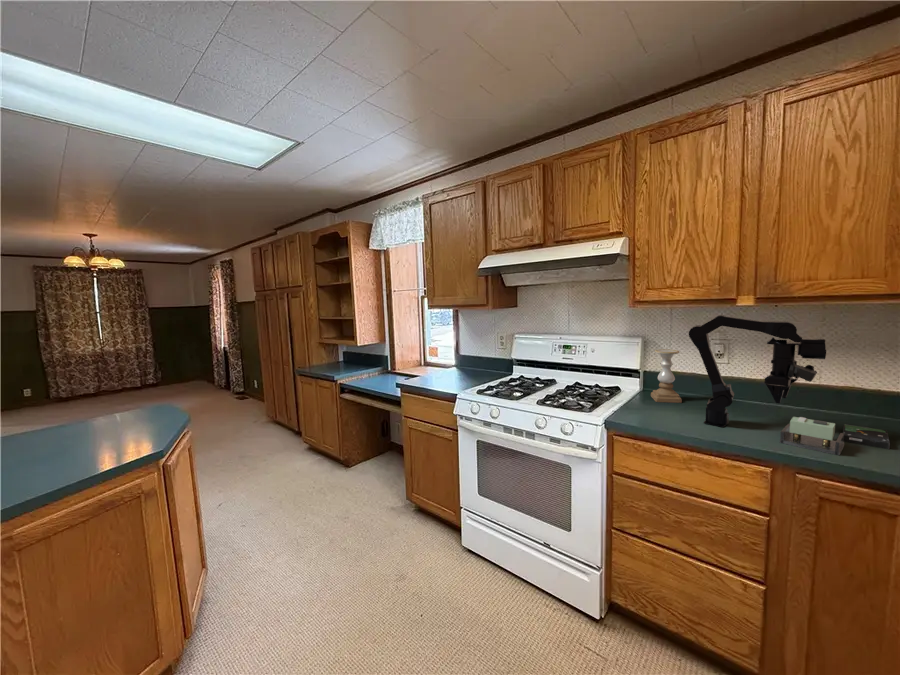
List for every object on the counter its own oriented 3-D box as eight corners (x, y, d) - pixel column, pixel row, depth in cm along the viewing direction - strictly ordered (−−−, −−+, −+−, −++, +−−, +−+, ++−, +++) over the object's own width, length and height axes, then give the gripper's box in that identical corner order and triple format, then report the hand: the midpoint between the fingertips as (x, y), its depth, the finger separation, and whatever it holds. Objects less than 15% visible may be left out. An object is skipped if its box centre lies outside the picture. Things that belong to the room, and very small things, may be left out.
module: (789, 432, 124) (790, 419, 123) (792, 427, 128) (793, 414, 127) (832, 440, 116) (833, 426, 116) (834, 435, 120) (835, 421, 119)
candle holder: (656, 402, 175) (657, 352, 172) (650, 396, 185) (651, 349, 183) (682, 403, 172) (683, 352, 169) (674, 396, 182) (676, 349, 180)
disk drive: (890, 451, 116) (886, 437, 126) (891, 442, 116) (887, 429, 126) (842, 442, 123) (842, 430, 134) (843, 434, 123) (842, 422, 133)
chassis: (779, 442, 124) (780, 431, 124) (786, 434, 131) (787, 423, 131) (839, 455, 113) (840, 442, 113) (844, 445, 120) (845, 433, 120)
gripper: (810, 363, 117) (807, 411, 119) (820, 356, 129) (817, 399, 130) (765, 359, 126) (762, 404, 128) (778, 353, 137) (776, 394, 139)
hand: (781, 400), depth 131 cm, fingers open, 9 cm apart
